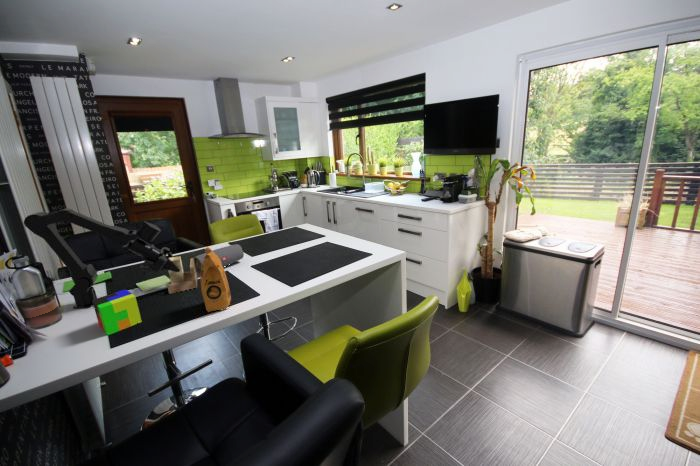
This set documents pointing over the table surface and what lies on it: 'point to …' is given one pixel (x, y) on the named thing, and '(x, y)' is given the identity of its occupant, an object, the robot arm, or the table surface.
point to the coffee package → (214, 283)
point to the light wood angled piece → (189, 280)
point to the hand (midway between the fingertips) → (179, 269)
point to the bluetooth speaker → (222, 256)
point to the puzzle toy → (116, 311)
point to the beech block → (177, 276)
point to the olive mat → (153, 283)
